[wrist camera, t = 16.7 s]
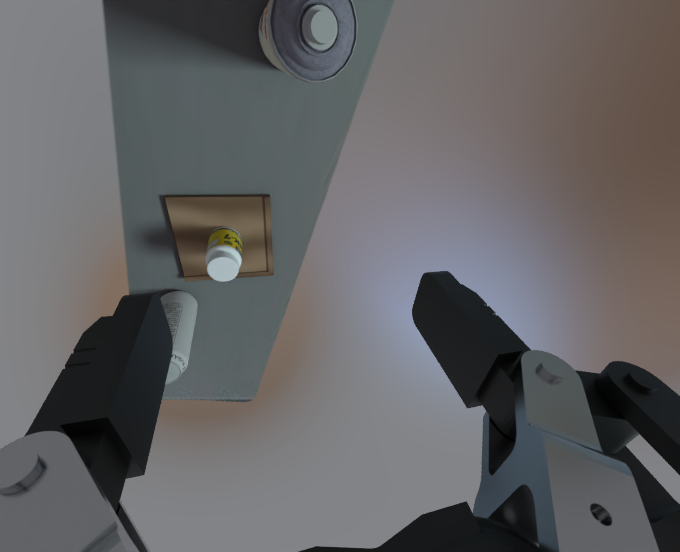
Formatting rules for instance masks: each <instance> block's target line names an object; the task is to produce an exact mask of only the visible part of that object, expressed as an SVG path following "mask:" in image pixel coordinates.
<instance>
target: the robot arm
mask: <svg viewBox="0 0 680 552" xmlns="http://www.w3.org/2000/svg"><path fill="white" fill-rule="evenodd" d="M412 316H413V320H414V323H415V325H416V327H417V329H418V330H419V332H420V333H421V335H422V337H423V338H424V340H425V341H426V343H427V345H428V346H429V348H430V349H431V351H432V352H433V354H434V356H435V357H436V359H437V360H438V362H439V363H440V365H441V367H442V368H443V370H444V372H445V373H446V375H447V376H448V378H449V379H450V381H451V383H452V384H453V386H454V388H455V389H456V391H457V392H458V394H459V396H460V397H461V399H462V400H463V402H464V403H465V405H466V407H467V408H471V407H476V406H481V405H483V407H484V408H485V410H486V413H485V415H484V417H483V442H482V471H481V473H482V475H481V483H480V487H479V490H478V493H477V496H476V499H475V504H474V509H473V513H472V512H471V509H470V507H469V505H468V503H467V502H463V503H459V504H456V505H453V506H450V507H446V508H443V509H439V510H436V511H433V512H429V513H426V514H423V515H421V516H420V517H418V518H417V519H416V520H414V521H413V522H412V523H410V524H409V525H408V526H406V527H405V528H404V529H403V530H401V531H400V532H399V533H397V534H396V535H394V536H393V537H392V538H391V539H389V540H388V541H387V542H385V543H384V544H383V545H381V546H380V547H377V548H373V549H365V548H341V547H318V546H316V547H313V548H309V549H306V550H303V551H299V552H680V504H679V503H678V502H676V501H675V500H674V499H673V498H672V496H671V495H670V494H669V493H668V492H667V491H666V490H665V489H664V488H663V486H662V485H661V484H660V483H659V482H658V481H657V480H656V479H655V478H654V477H653V475H652V474H650V472H649V471H648V470H647V469H646V468H645V467H644V466H643V465H642V464H641V462H640V461H639V460H638V459H637V458H636V457H635V456H634V455H633V453H631V452H630V450H629V449H628V448H627V447H626V446H625V445H627V444H628V443H629V442H630V441H632V440H633V439H634V438H635V437H636V436H638V435H639V434H640V435H641V436H642V437H643V438H644V439H645V440H646V441H647V442H648V443H649V444H650V445H651V446H652V447H653V448H654V449H655V450H656V451H657V452H658V453H659V454H660V455H661V456H662V457H663V459H665V461H666V462H668V464H669V465H670V466H671V467H672V468H673V469H674V470H675V471H676V472H677V473H678V474H679V475H680V396H679V395H678V394H677V393H675V392H674V391H673V390H672V389H671V388H669V387H668V386H667V385H666V384H664V383H663V382H662V381H661V380H659V379H658V378H657V377H656V376H654V375H653V374H651V373H650V372H648V371H646V370H644V369H642V368H640V367H638V366H636V365H633V364H630V363H627V362H621V361H615V362H611V363H609V364H608V365H607V366H606V367H605V369H604V370H603V371H602V372H601V373H600V374H598V373H590V372H582V371H575V370H574V369H573V368H572V367H571V366H570V365H569V364H568V363H566V362H565V361H563V360H562V359H560V358H559V357H557V356H555V355H553V354H550V353H548V352H544V351H539V350H531V349H529V347H527V346H526V345H525V344H524V342H523V341H522V340H521V339H520V338H519V337H518V336H517V335H516V334H515V333H514V332H513V331H512V330H511V329H510V328H509V327H508V326H507V325H506V324H505V323H504V321H503V320H502V319H501V318H500V317H499V316H496V314H495V312H494V311H493V310H492V309H491V308H490V307H489V306H488V307H487V304H486V303H485V302H484V301H483V299H482V298H480V296H479V295H478V294H477V293H475V292H474V291H472V290H470V289H469V288H467V287H466V286H464V285H461V284H460V283H459V282H458V281H457V280H456V279H455V278H454V276H453V275H452V274H451V273H449V272H448V271H440V272H428V273H424V274H423V276H422V278H421V281H420V284H419V287H418V291H417V294H416V298H415V301H414V304H413V308H412ZM172 351H173V339H172V333H171V330H170V327H169V324H168V321H167V318H166V314H165V311H164V308H163V305H162V302H161V299H160V297H159V295H158V294H157V293H151V294H138V295H126V296H123V297H122V298H121V300H120V302H119V304H118V306H117V308H116V311H115V313H114V314H113V316H107V317H101V318H99V319H98V320H97V321H96V322H95V323H94V324H93V325H92V326H90V327H89V328H88V329H87V330H86V331H85V332H84V333H83V334H82V336H81V338H80V340H79V341H78V343H77V345H76V347H75V348H74V353H73V354H71V356H70V357H69V359H68V361H67V363H66V364H65V369H63V370H62V371H61V373H60V375H59V377H58V379H57V380H56V382H55V384H54V386H53V388H52V389H51V391H50V393H49V394H48V396H47V398H46V400H45V402H44V403H43V405H42V407H41V409H40V411H39V413H38V414H37V416H36V418H35V419H34V421H33V423H32V425H31V426H30V428H29V430H28V432H27V433H26V435H25V436H24V437H22V438H20V439H18V440H16V441H14V442H12V443H10V444H8V445H6V446H5V447H3V448H2V449H0V552H150V550H149V548H148V547H147V545H146V543H145V541H144V540H143V538H142V536H141V535H140V533H139V531H138V530H137V528H136V526H135V524H134V523H133V521H132V519H131V518H130V516H129V514H128V513H127V511H126V509H125V507H124V506H123V504H122V502H121V501H120V497H121V494H122V490H123V486H124V483H125V479H126V478H132V477H136V476H141V475H144V473H145V469H146V465H147V460H148V456H149V452H150V448H151V443H152V439H153V434H154V430H155V426H156V422H157V417H158V413H159V409H160V404H161V400H162V396H163V392H164V387H165V383H166V379H167V374H168V370H169V366H170V361H171V357H172Z"/></svg>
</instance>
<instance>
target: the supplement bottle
mask: <svg viewBox="0 0 680 552" xmlns="http://www.w3.org/2000/svg"><path fill="white" fill-rule="evenodd" d="M241 262H242V239H241V236H240V235H239V233H238V232H237V231H235V230H234V229H232V228H229V227H220V228H217V229H215V230H214V231H213V232H212V233H211V234H210V237H209V241H208V247H207V252H206V264H207V272H208V274H209V275H210V277H212V278H213V279H215V280H217V281H230V280H232V279H234V278H235V277H236V276H237V274H238V271H239V268H240V266H241Z"/></svg>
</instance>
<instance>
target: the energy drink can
mask: <svg viewBox="0 0 680 552" xmlns="http://www.w3.org/2000/svg"><path fill="white" fill-rule="evenodd" d="M160 299H161V302H162V305H163V308H164V311H165V314H166V318H167V321H168V324H169V327H170V330H171V333H172V339H173V351H172V357H171V361H170V366H169V370H168V374H167V379H166V383H165V385H166V384H170V383H173V382H175V381H177V380H178V379H179V378H180V376H181V373H182V372H183V371H184V370H185V369H186V368H187V365H188V360H189V354H190V349H191V343H192V337H193V331H194V326H195V320H196V314H197V309H198V304H197V301H196V300H195V299H194V298H193V297H192V296H191V295H190V294H189V293H187V292H184V291H172V292H169V293H167V294H165V295H163V296H162V297H161V298H160Z"/></svg>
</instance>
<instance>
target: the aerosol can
mask: <svg viewBox="0 0 680 552" xmlns="http://www.w3.org/2000/svg"><path fill="white" fill-rule="evenodd" d="M258 33H259V41H260V45H261V47H262V50H263V52H264V54H265V56H266V57H267V59H268V60H269V61H270V63H272V64H273V65H274V66H275V67H277V68H278V69H280V70H282V71H283V72H285V73H287V74H289V75H291V76H293V77H294V78H296V79H299V80H302V81H305V82H308V83H322V82H324V81H326V80H329V79H331V78H333V77H335V76H336V75H337V74H339V73H340V72H341V71H342V70H343V69H344V68H345V67H346V65H347V63H348V62H349V60H350V58H351V57H352V55H353V52H354V48H355V44H356V41H357V17H356V12H355V8H354V4H353V2H352V0H269V1H268V3H267V5H266V7H265V9H264V11H263V13H262V16H261V18H260V22H259V29H258Z"/></svg>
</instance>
